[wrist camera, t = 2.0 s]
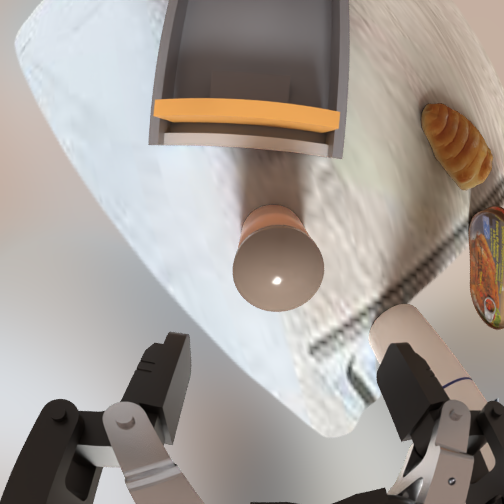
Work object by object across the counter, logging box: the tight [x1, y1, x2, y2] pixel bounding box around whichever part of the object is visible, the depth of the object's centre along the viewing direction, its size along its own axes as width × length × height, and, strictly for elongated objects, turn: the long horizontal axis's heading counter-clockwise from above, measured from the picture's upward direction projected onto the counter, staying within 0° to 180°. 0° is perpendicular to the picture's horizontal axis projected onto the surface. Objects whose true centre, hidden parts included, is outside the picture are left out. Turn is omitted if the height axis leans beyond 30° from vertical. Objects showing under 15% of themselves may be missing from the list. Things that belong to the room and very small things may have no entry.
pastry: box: [421, 103, 493, 190], centre depth 19 cm, size 9×7×4 cm
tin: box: [469, 206, 504, 330], centre depth 21 cm, size 15×3×8 cm, turn 22°
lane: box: [149, 0, 349, 159], centre depth 16 cm, size 19×15×5 cm
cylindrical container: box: [369, 304, 495, 504], centre depth 17 cm, size 7×7×25 cm
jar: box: [233, 205, 324, 312], centre depth 21 cm, size 6×6×8 cm
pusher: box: [153, 71, 340, 133], centre depth 18 cm, size 4×12×5 cm, turn 85°
